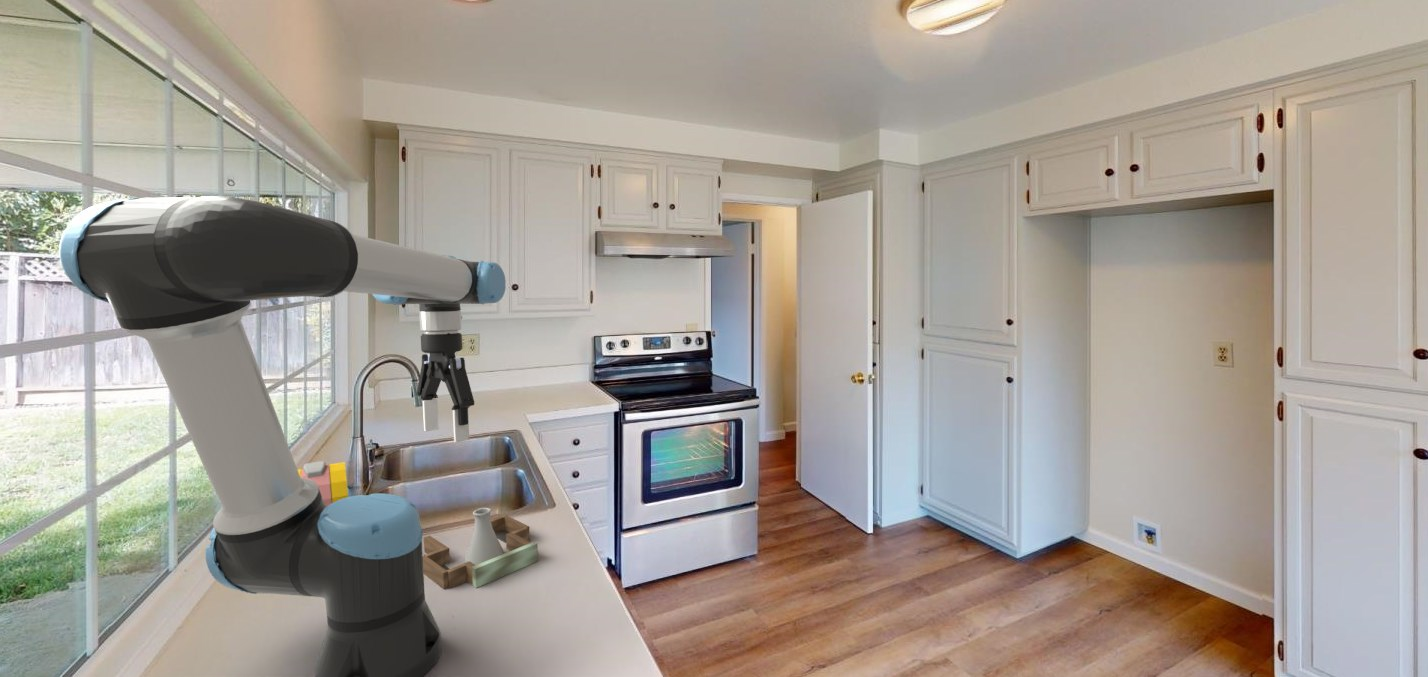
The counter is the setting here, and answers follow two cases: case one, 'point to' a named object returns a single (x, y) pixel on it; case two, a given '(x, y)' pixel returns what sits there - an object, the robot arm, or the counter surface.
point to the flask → (483, 539)
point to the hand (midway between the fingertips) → (445, 435)
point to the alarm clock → (327, 479)
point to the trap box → (487, 571)
